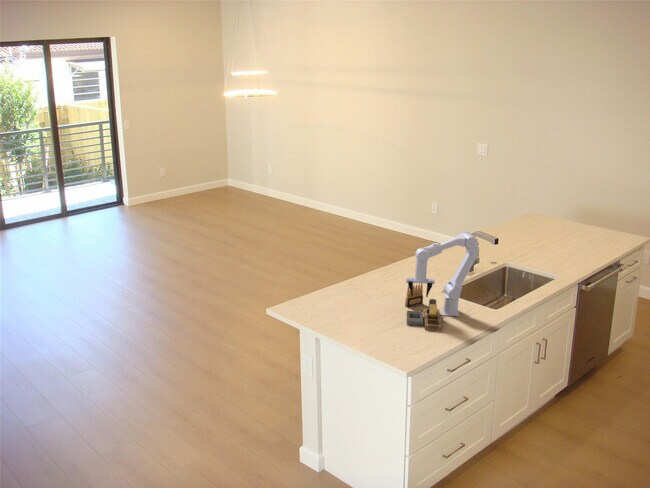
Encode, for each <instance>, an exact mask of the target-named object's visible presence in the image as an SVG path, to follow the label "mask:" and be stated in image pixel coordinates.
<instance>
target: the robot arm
mask: <svg viewBox="0 0 650 488" xmlns="http://www.w3.org/2000/svg"><path fill="white" fill-rule="evenodd" d="M456 246H460V247H463V248H465V250H466V253H465V256H464V257H463V259H462V261H461V263H460V265H459V267H458V269H457V271H456V272H455V274H454V276H453V278H451V279H449V281H448V282H447V283H446V284H445V285H444V287H443V291H444V292H445V295H444V303H443V307H442V316H446V317H447V316H448V317H459V316H460V315H459V298H460V297H461V295H462V294H461V293H462V290H463V283H464V281H465V279H466V277H467V275H468V273H469V272H470V270H471V268H472V266H473V265H474V263H475V261H476V259H477V257H478V256H479V246H480V243H479V241H478V239H477V238H476V237H475V236H473V234H472V233H470V232H469V231H465V232H463V233H459V234H458V235H457V236H454V237H453V238H450V239H448V240H446V241H443V242H442V243H438V242H433V243H432V244H430V245H428V246H424V247H420V248H418V249H416V251H415V252H414V255H415V257H416V259H415V273H414V277H406V278H405V283H406V284H408V285H407V286H409V288H410V291H411V296H413V285H414V284H421V283H422V284H426V291H425V292H426V294H425V298H428V297H429V293H430V291H431V289H432V287H433V285H435V282H436V280H435V279H433V278H427V272H428V271H427V269H428V261H429V259H430V258H433V257H435V256H438V255H440V254H442V253H443V251H444V250H448V249H451V248H453V247H456Z"/></svg>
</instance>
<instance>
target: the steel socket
mask: <svg viewBox="0 0 650 488" xmlns="http://www.w3.org/2000/svg"><path fill="white" fill-rule="evenodd" d="M423 324H424V312H423V311H416V310H407V311H406V326H418V327H419V326H420V327H422V326H424V325H423Z"/></svg>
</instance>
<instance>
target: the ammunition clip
mask: <svg viewBox="0 0 650 488" xmlns="http://www.w3.org/2000/svg"><path fill="white" fill-rule="evenodd" d="M423 288H424V287H423V283H415V284H413V296H411V291H410V288H409V285H407V291H406V297H405V303H404V304H405V305H404V307H405V308H411V307H416V306H419V305H423V303H424V295H423V292H424V290H423Z"/></svg>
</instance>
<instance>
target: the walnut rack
mask: <svg viewBox="0 0 650 488" xmlns="http://www.w3.org/2000/svg"><path fill="white" fill-rule="evenodd" d="M428 313H429V307H428V308H426V307H425V308H423V324H424V330H425V331H437V332H438V331H439V332H441V331H442V320H441V310H440V309H439V308H437V312H436V319H429V314H428Z"/></svg>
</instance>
